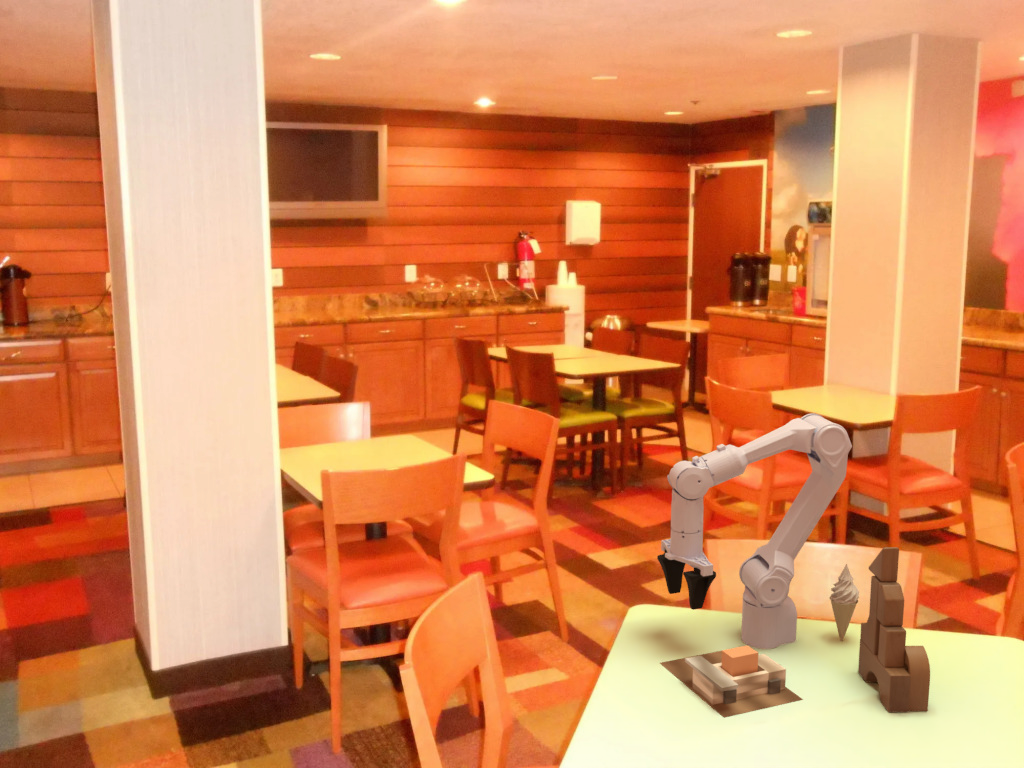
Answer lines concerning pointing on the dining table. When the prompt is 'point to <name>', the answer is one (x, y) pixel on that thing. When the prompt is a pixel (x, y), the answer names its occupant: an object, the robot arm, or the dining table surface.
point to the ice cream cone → (844, 601)
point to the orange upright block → (740, 661)
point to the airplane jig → (733, 683)
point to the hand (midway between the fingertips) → (685, 600)
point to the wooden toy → (892, 642)
